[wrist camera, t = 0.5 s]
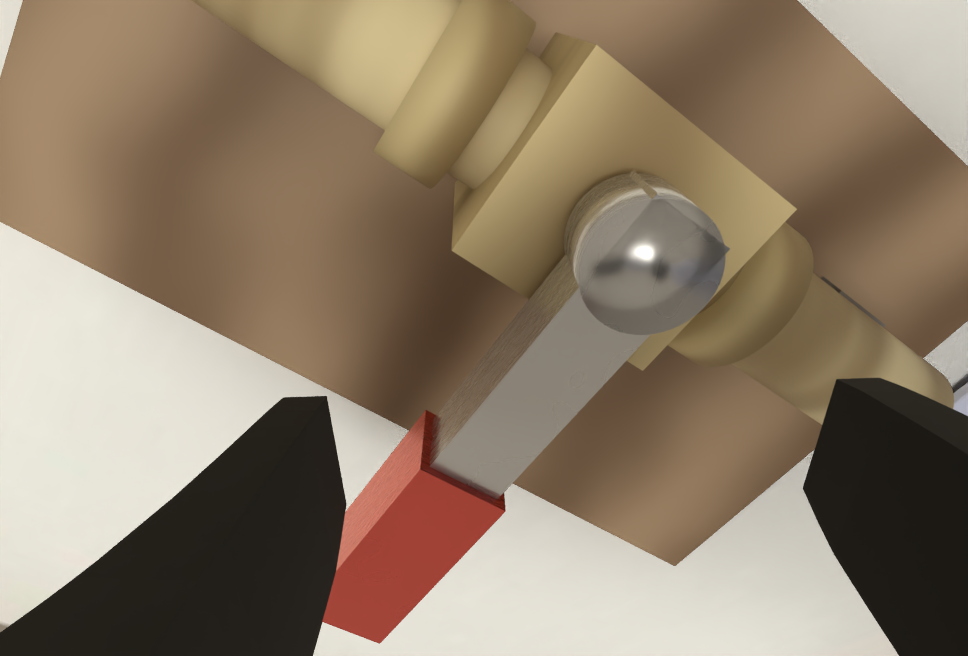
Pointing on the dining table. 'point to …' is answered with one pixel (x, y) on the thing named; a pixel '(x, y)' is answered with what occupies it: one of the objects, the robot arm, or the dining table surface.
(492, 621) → the dining table surface
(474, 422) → the valve lever
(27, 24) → the valve board
